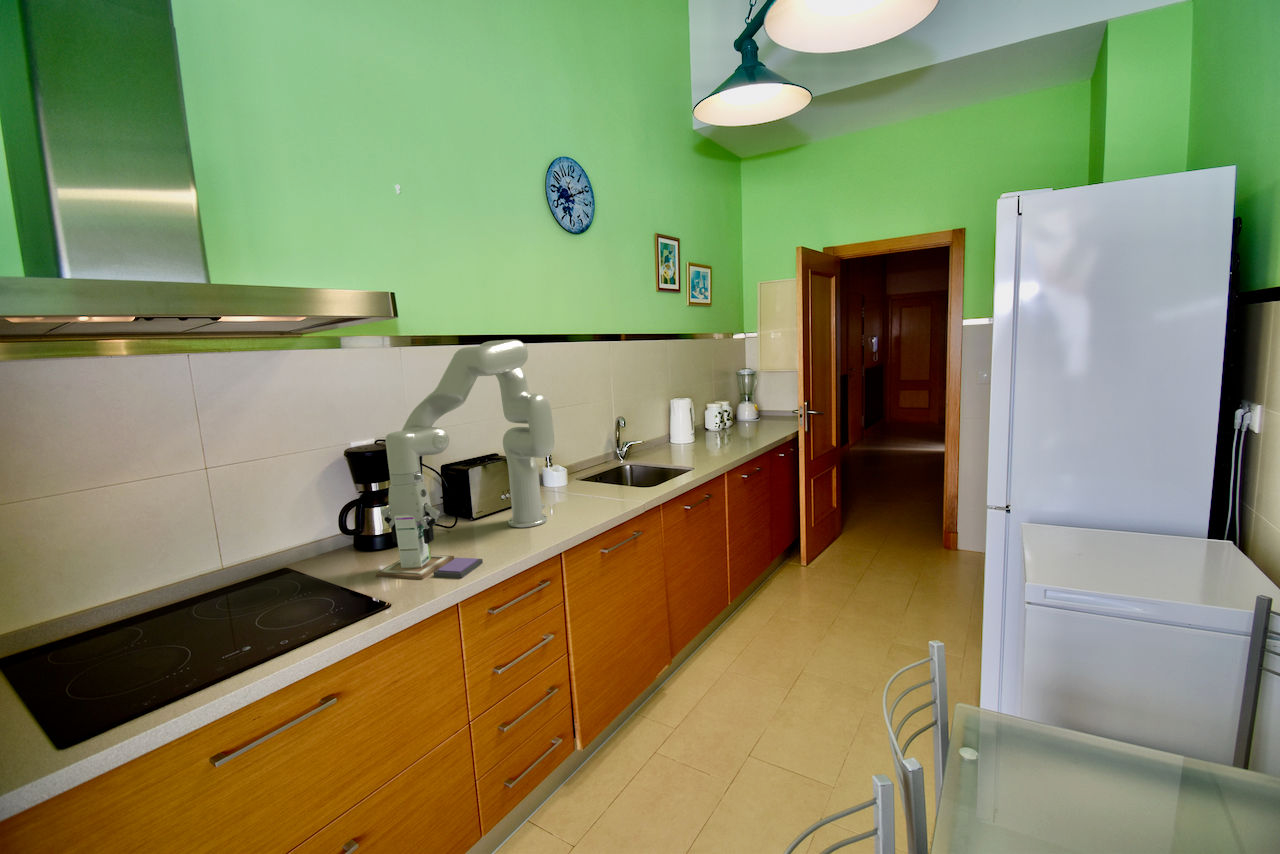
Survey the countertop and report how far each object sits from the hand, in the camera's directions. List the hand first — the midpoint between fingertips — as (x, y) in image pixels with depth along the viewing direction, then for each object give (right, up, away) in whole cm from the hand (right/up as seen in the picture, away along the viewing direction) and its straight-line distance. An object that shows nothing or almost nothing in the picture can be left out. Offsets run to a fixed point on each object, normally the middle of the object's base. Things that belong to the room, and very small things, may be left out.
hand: (413, 541), depth 148 cm
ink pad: (+13, -7, -3) cm, 15 cm away
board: (0, -7, +1) cm, 7 cm away
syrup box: (0, -7, +1) cm, 7 cm away
